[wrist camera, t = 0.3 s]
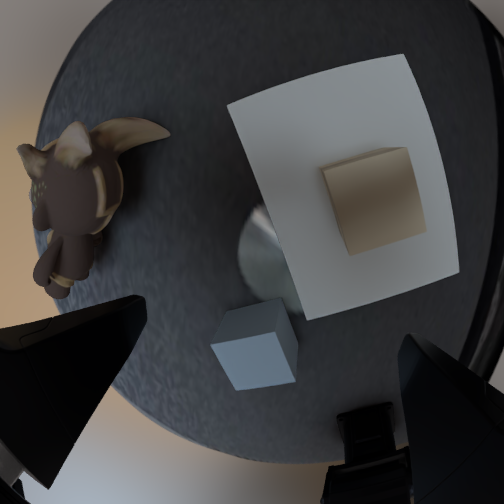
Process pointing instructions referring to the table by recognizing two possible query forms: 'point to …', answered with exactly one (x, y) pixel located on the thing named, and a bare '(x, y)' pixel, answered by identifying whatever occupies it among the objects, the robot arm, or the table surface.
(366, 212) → the maple block
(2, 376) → the robot arm
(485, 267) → the table surface
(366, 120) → the board
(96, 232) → the toy
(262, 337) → the blue block
